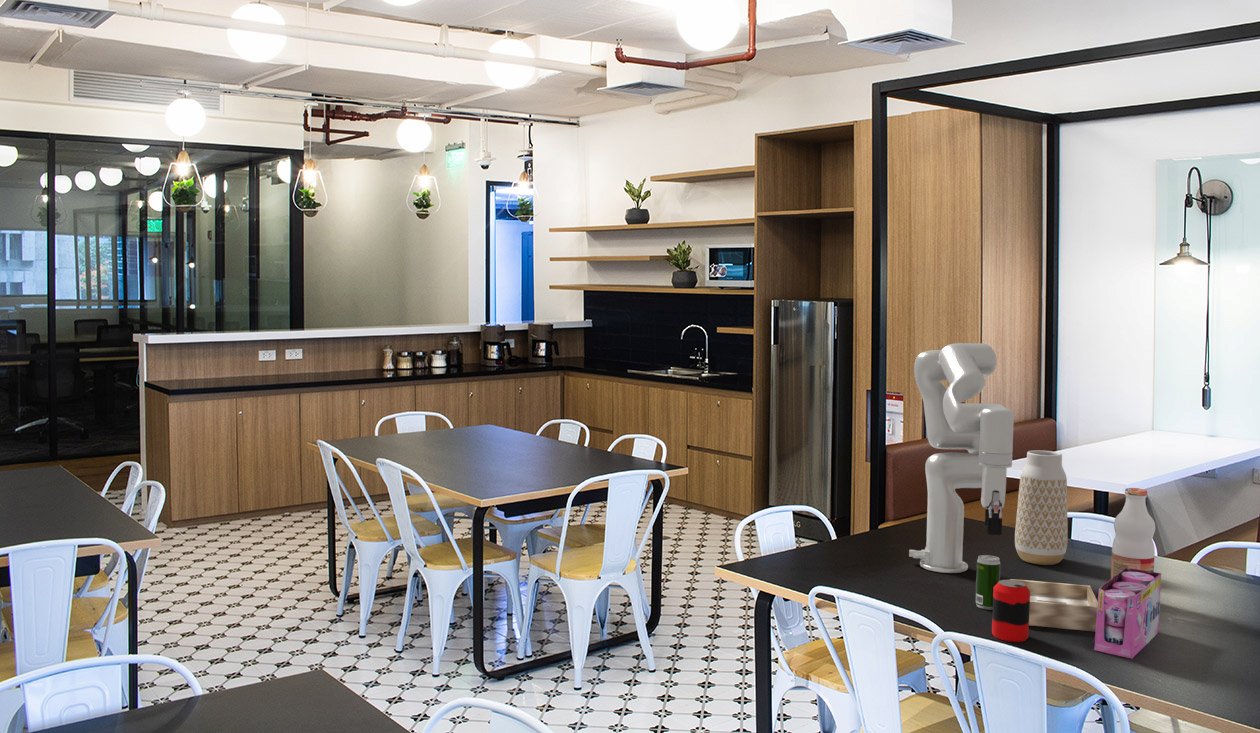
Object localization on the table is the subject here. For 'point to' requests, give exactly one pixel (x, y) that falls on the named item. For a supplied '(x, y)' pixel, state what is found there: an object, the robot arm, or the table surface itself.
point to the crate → (1062, 605)
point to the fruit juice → (1133, 535)
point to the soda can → (1011, 611)
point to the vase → (1042, 509)
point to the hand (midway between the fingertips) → (993, 530)
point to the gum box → (1128, 612)
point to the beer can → (986, 580)
